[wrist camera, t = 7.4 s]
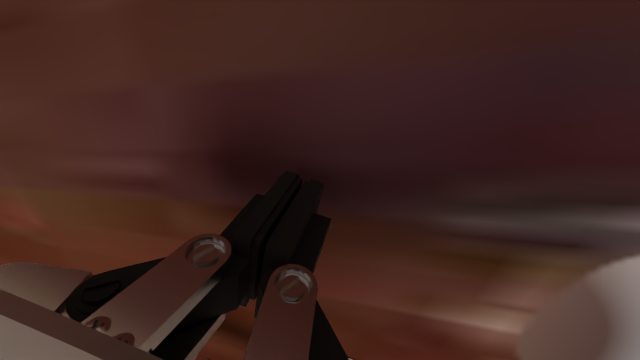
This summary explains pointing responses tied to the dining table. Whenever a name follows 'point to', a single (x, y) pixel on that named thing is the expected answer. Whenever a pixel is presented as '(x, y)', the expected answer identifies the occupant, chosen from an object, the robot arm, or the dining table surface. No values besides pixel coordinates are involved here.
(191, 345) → the robot arm
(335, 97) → the dining table surface
